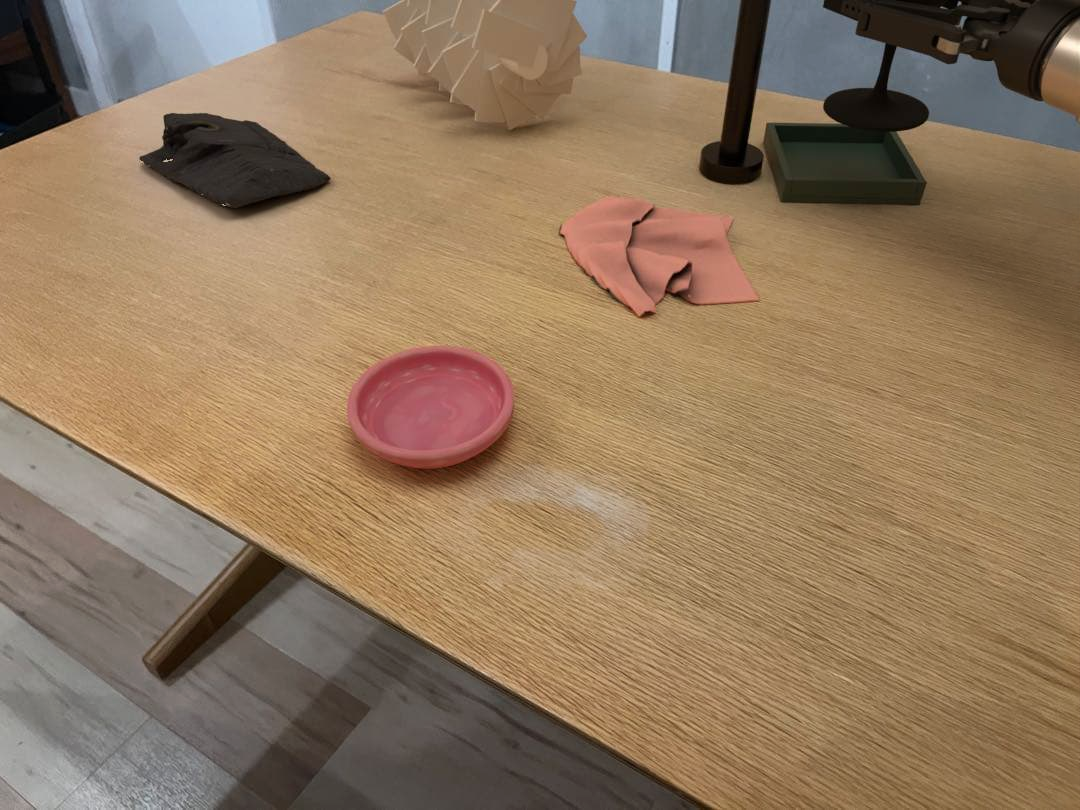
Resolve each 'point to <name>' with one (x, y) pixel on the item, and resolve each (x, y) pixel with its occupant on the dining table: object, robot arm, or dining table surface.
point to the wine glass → (879, 99)
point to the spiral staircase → (492, 52)
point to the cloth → (656, 253)
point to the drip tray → (841, 165)
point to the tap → (740, 103)
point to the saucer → (431, 406)
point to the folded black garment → (230, 160)
